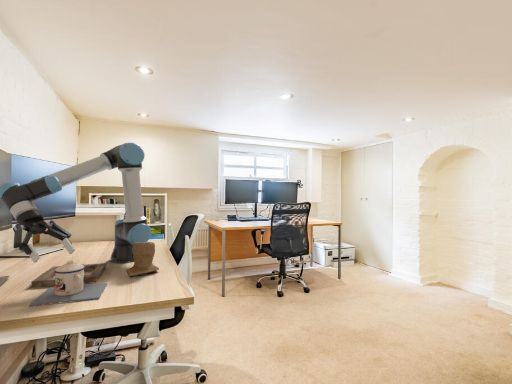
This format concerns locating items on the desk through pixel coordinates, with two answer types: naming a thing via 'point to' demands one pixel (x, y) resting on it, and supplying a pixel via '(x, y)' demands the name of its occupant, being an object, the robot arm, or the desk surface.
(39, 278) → the walnut holder frame
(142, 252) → the brown upright rounded piece
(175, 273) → the desk surface
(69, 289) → the teacup with lid
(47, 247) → the desk surface
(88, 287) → the charcoal rubber mat
